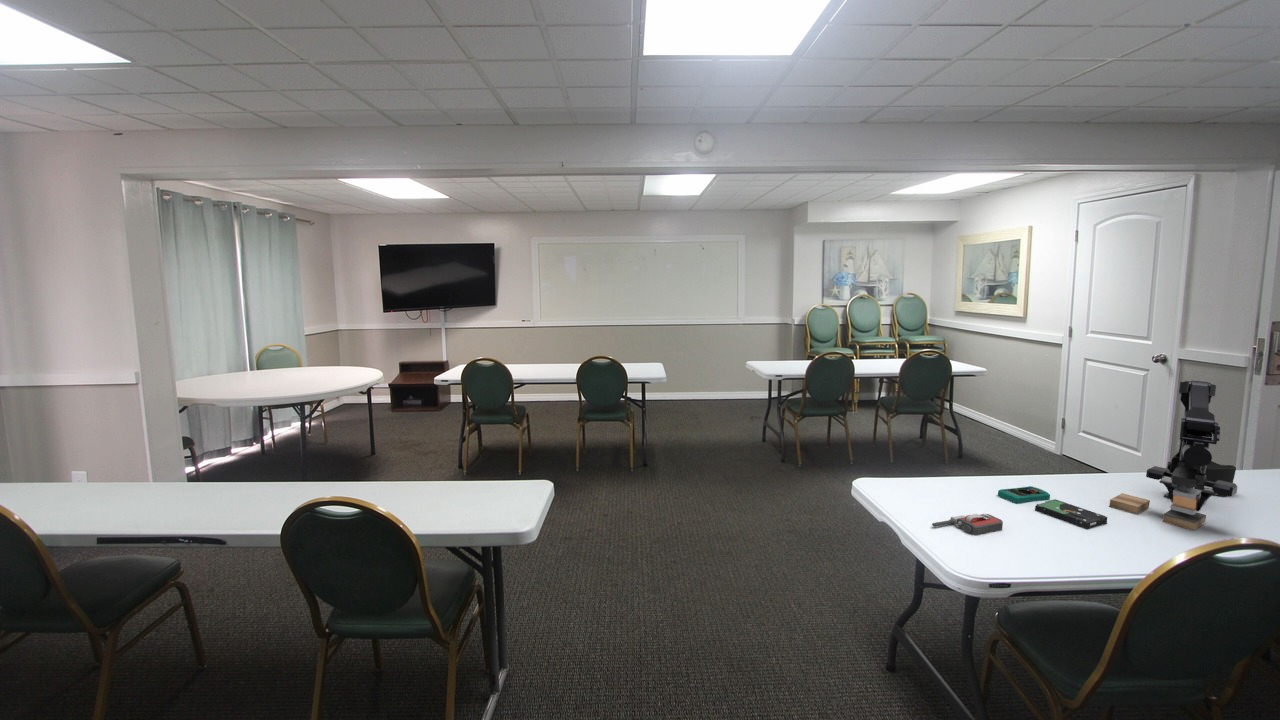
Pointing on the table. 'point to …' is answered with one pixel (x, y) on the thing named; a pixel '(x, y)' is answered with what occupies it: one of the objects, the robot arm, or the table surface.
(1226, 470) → the pen holder
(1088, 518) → the disk drive
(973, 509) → the table surface
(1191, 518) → the stand
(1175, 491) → the block
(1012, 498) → the digital multimeter
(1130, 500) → the stand
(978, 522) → the walkie-talkie
